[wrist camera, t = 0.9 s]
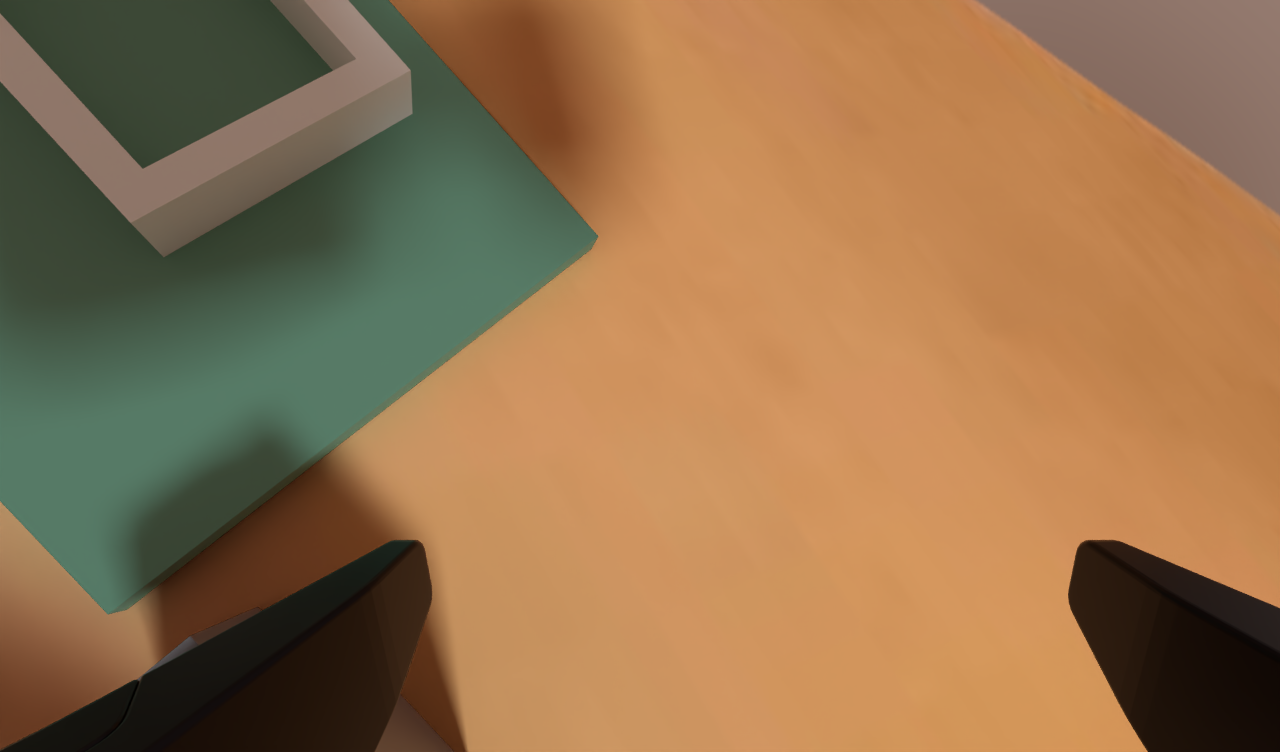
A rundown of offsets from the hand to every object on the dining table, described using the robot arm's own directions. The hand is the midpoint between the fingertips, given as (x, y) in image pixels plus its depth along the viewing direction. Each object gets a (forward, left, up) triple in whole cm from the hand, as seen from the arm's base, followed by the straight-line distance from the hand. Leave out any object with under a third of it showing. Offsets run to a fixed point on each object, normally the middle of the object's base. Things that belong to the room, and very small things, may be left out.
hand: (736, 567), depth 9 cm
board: (-1, +16, -11) cm, 19 cm away
